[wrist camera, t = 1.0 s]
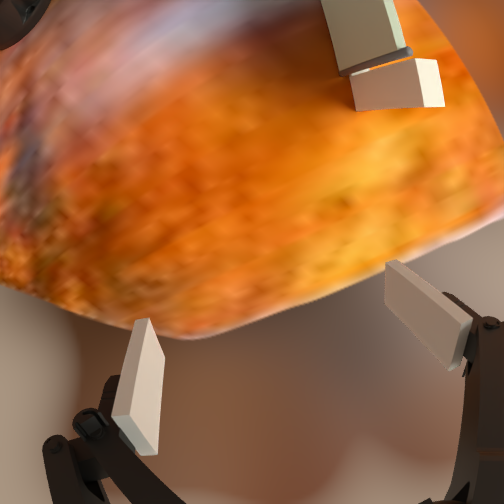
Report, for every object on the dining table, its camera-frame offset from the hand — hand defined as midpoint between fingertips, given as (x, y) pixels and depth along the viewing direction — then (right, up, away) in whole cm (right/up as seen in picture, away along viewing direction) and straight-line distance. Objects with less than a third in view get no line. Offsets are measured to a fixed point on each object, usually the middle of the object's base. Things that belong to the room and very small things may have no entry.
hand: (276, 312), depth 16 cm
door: (+8, +35, +16) cm, 39 cm away
